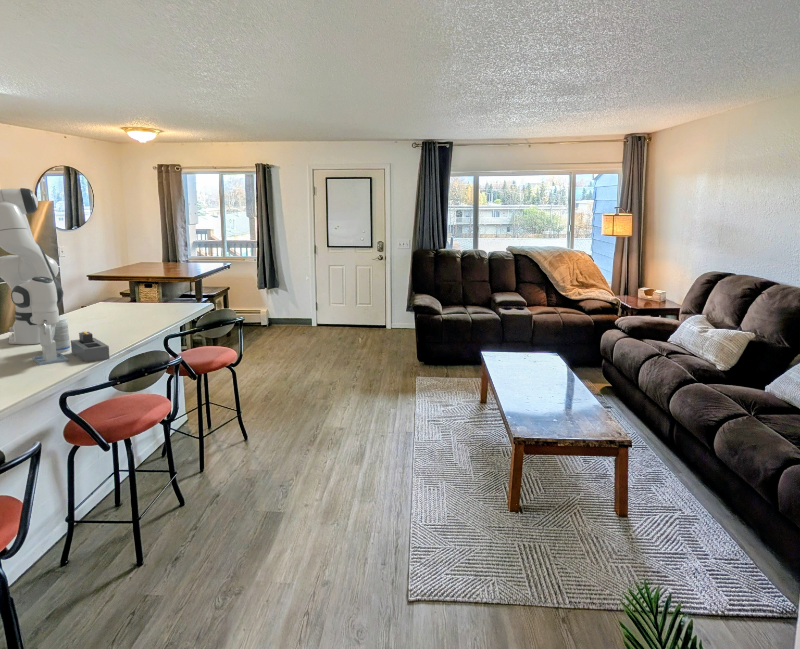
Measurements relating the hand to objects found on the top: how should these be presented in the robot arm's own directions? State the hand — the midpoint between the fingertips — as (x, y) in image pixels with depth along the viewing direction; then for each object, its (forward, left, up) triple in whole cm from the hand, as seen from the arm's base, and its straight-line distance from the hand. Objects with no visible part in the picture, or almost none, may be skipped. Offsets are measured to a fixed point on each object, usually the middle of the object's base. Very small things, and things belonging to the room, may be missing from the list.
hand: (49, 351), depth 215 cm
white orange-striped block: (0, 0, -4) cm, 4 cm away
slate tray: (0, 0, -4) cm, 4 cm away
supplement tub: (-14, +6, -4) cm, 16 cm away
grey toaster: (+3, +14, -4) cm, 15 cm away
